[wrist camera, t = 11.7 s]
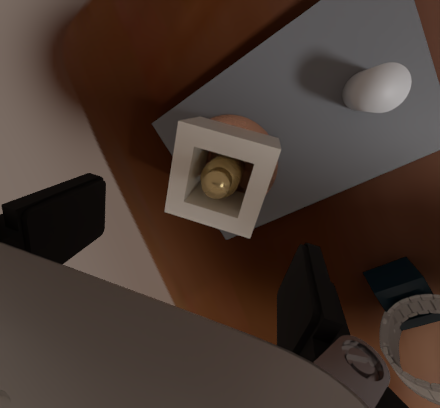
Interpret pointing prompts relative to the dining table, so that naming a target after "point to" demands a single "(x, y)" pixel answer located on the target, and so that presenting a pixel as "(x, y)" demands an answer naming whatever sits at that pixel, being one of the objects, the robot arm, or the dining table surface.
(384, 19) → the board
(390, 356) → the watch
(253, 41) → the dining table surface
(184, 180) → the square hollow frame
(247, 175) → the hub
